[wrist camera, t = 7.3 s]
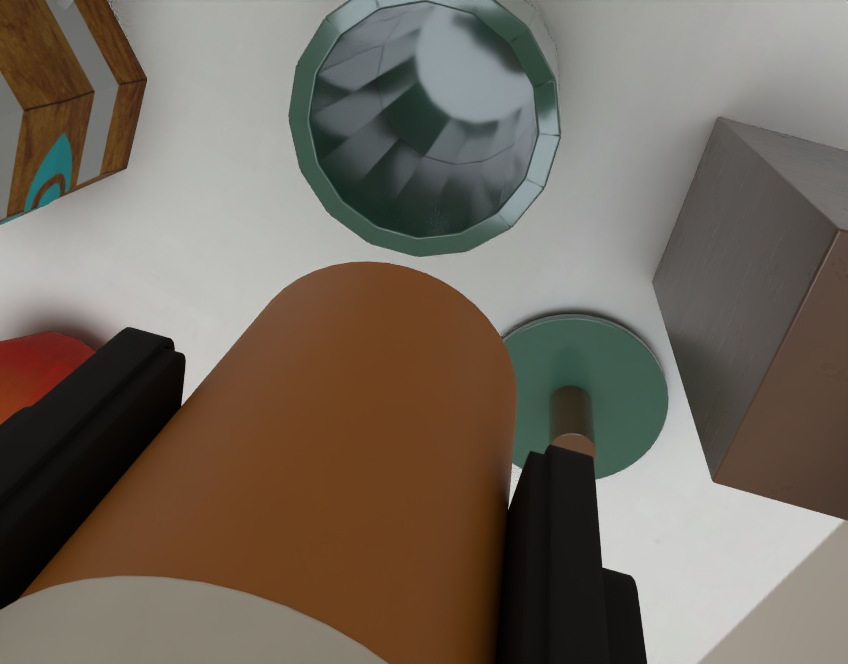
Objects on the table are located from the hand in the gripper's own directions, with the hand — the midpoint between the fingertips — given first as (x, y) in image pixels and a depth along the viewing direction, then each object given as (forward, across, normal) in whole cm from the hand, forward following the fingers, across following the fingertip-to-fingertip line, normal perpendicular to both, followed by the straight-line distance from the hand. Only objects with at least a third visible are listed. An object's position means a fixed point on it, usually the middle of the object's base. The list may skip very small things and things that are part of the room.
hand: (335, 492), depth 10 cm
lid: (+32, -8, +15) cm, 36 cm away
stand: (+32, -15, +2) cm, 36 cm away
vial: (+3, 0, 0) cm, 3 cm away
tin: (+32, +2, -1) cm, 33 cm away
